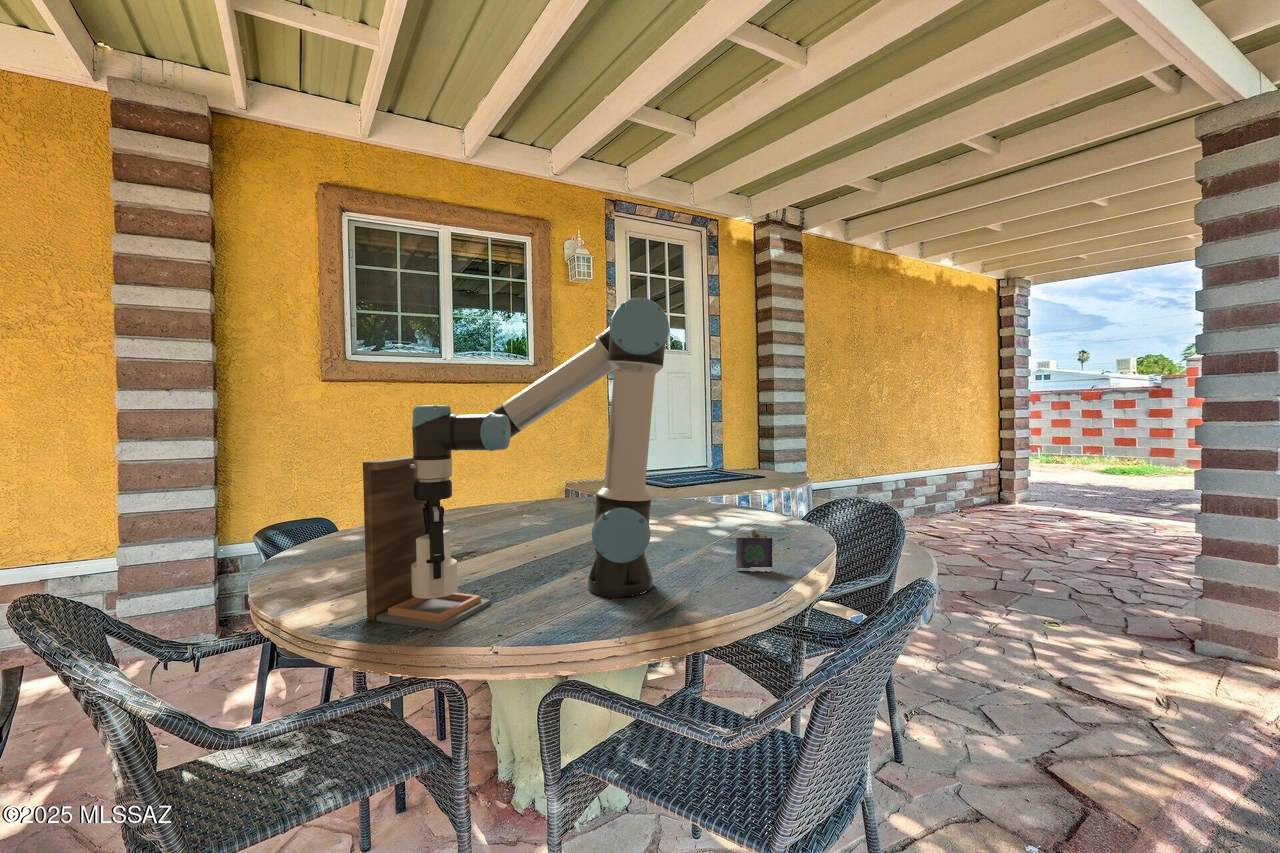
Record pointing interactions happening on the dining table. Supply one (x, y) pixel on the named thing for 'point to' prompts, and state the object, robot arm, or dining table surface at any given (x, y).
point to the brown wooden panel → (390, 532)
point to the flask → (753, 550)
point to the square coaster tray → (434, 611)
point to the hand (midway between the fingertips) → (434, 586)
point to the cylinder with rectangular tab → (422, 569)
